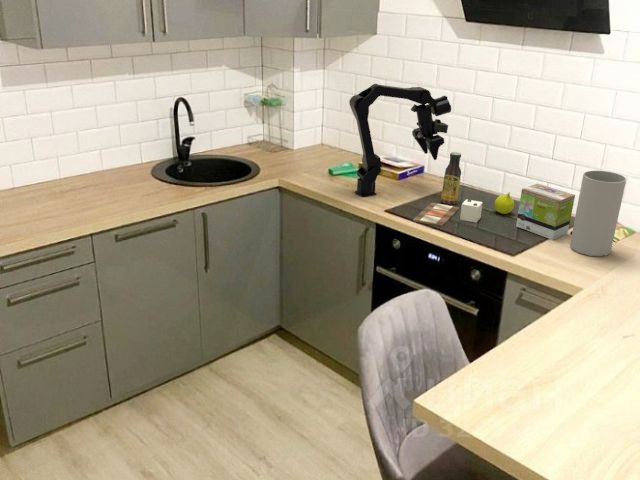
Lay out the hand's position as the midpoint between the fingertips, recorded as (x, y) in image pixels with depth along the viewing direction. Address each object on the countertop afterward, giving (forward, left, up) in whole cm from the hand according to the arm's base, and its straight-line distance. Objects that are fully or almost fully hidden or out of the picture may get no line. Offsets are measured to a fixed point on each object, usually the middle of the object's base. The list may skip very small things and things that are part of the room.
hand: (430, 156), depth 257 cm
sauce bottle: (-2, -16, -14) cm, 22 cm away
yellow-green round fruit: (+9, -34, -14) cm, 38 cm away
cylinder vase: (+11, -72, -14) cm, 74 cm away
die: (-6, -33, -14) cm, 37 cm away
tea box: (+9, -53, -14) cm, 56 cm away
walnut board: (-15, -25, -14) cm, 32 cm away
